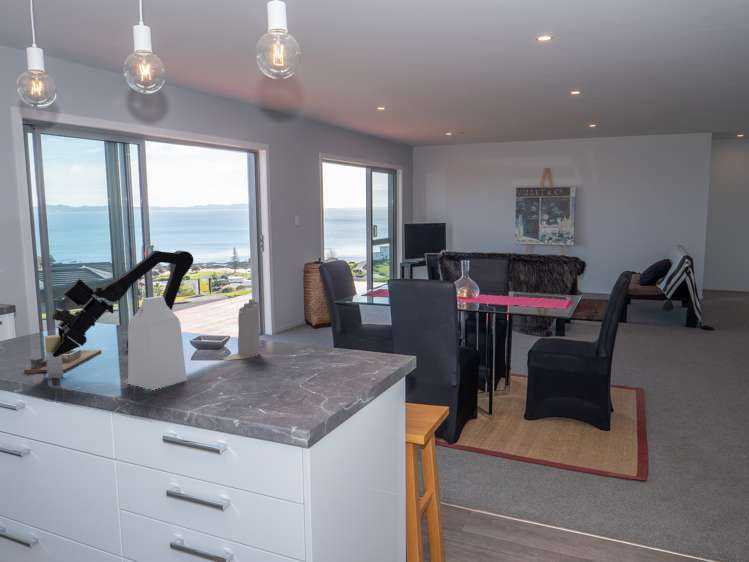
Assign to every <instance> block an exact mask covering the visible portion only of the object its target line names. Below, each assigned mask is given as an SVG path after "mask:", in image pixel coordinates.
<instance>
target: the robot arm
mask: <svg viewBox="0 0 749 562" xmlns="http://www.w3.org/2000/svg"><path fill="white" fill-rule="evenodd" d="M161 263H164V264H169V276H168V279H167V282H166V285H165V287H164V290H163V294H162V296H163V297H164V300H165V302H166V305H167V306H168V307H169V308H170V309H171V311H173V308H174V304H175V301H176V298H177V295H178V292H179V290H180V288H181V284H182V282H183V278H184V277H185V276H186V274H187V273H188V272H189V270H190V269H191V267H192V265H193V264H194V256H193V255H192V254H191V252H189V251H186V250H176V251H173V252H170V251H161V250H156V249H155V250H152V251H151V252H150V253H149V254H148V255H147V256H146V257H144V258H143V259H142V260H141V261H139V262H138V263H136V264H134V266H133V267H131V268H130V269H128V271H126V272H125V273H124V274H122V275H120V276H118V277H116V278H114V279H112V280H109V281H108V282H106V283H104V284H103V285H102V286H101V287H97V288H95V287H94V288H91V287H90V286H88V285H87V284H86V283H85V282H84V281H83V280H82V279H81V278H78V279H77V280H76V281H74V282H73V283H72V284H70V285H68V286H67V288H65V290H64V291H63V293H62V296H64V297H66V299H68V300H69V301H70V302H71V303H73V304H75V306H76V307H78V306H84V307H82V309H81V310H80V311H79V310H77V311H75V312H74V313H73V312H71V311H70V310H69V309H66V308H63V309H60V308H58V307H56V308H54V311H53V312H52V316H51V319H53V320H54V321H58V322H60V323H59V324H58V326H57V332H58V333H57V335H59V336H60V339H61V343H60V345H59V346H58V348H57V349H56V351H55V352H54V353H53V356H54V357H58V356H60V355H62V354H64V353H66V352H68V351H71V350H76V349H77V348H80V347H81V346H82V347H83V346H84V345H85V344H86V343H87V336H86V335H87V334H86V333H87V332H88V330H90V329H91V328H92V327H95V326H96V322H97V321H98V320H99V319H100V318H101V317H102V316H103V315H104V314H105V313H106V311H108V312H109V313H111V314H114V313H115V311H114V307H115V306H114V305H113V304H112V303H114V302H118V301H120V300H121V299H122V298H123V296H124V295H125V294H126V293H127V292H128V291H129V289H130V288H131V286H132V285H133V284H134V283H136V282H137V281H138V280H140V279H141V278H142V277H143V276H145V275H146V274H147V273H148V272H150V271H151V270H152V269H154V268H155V267H156V266H157V265H159V264H161ZM93 295H95V296H96V297H97V298H99V300H98V299H97V298H96V297H94V296H93ZM104 299H105V300H106V301H107V302H106V301H105V300H104ZM108 302H111V303H110V304H109V303H108Z"/></svg>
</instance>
